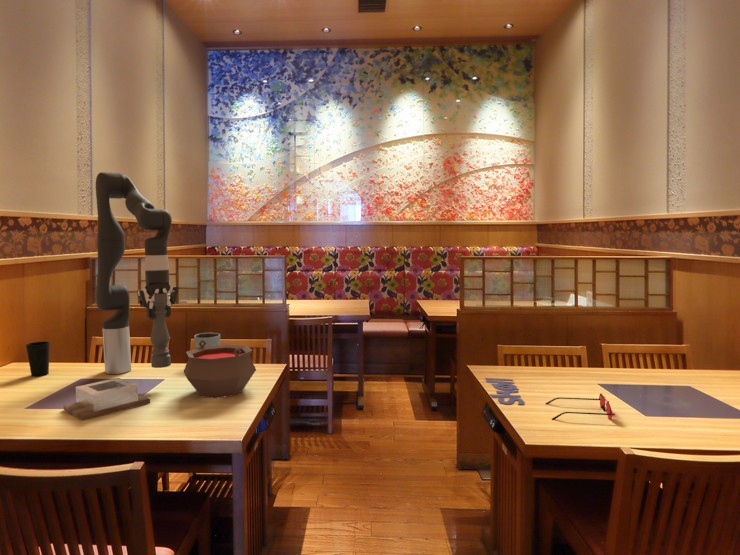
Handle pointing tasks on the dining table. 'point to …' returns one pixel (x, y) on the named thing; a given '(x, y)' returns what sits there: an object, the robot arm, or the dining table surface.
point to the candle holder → (160, 333)
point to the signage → (505, 391)
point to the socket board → (86, 413)
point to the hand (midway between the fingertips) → (159, 318)
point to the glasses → (602, 405)
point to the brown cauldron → (219, 369)
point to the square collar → (106, 394)
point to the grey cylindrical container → (207, 339)
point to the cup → (38, 358)
